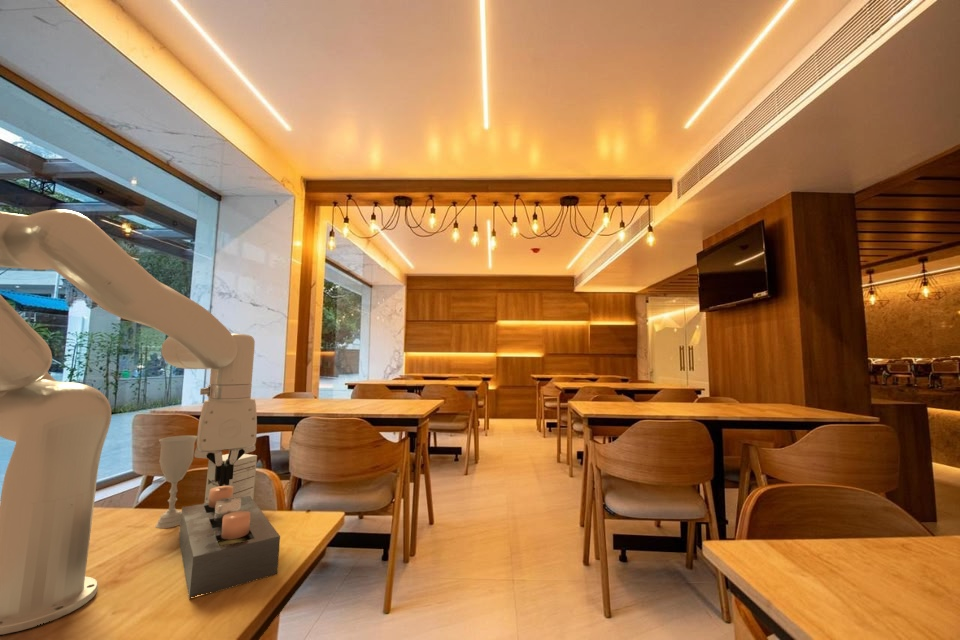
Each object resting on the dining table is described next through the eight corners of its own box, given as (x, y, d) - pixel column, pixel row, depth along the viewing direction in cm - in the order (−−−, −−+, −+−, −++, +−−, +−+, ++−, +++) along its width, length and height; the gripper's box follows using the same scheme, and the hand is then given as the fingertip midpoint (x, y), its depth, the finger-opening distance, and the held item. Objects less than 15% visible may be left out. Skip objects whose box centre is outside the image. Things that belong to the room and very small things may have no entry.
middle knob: (215, 523, 71) (217, 506, 71) (212, 516, 74) (214, 500, 74) (241, 518, 73) (242, 501, 74) (237, 512, 76) (239, 495, 77)
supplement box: (201, 514, 92) (207, 458, 93) (230, 504, 99) (234, 451, 100) (226, 518, 90) (231, 460, 91) (254, 507, 97) (258, 454, 98)
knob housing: (189, 599, 59) (193, 556, 60) (178, 538, 79) (181, 507, 80) (277, 573, 67) (280, 536, 67) (247, 524, 87) (249, 495, 87)
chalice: (172, 530, 83) (181, 441, 85) (140, 529, 83) (149, 441, 85) (197, 517, 90) (205, 435, 92) (168, 516, 90) (176, 435, 92)
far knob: (209, 509, 78) (211, 493, 78) (207, 503, 81) (208, 488, 81) (233, 504, 80) (234, 489, 81) (230, 499, 83) (231, 484, 84)
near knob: (223, 541, 64) (224, 521, 64) (219, 533, 67) (221, 514, 67) (251, 535, 67) (252, 516, 67) (246, 527, 70) (248, 509, 70)
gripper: (187, 395, 76) (178, 496, 74) (274, 392, 85) (268, 482, 83) (184, 393, 81) (176, 486, 79) (266, 390, 91) (260, 473, 89)
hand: (223, 483), depth 81 cm, fingers closed
